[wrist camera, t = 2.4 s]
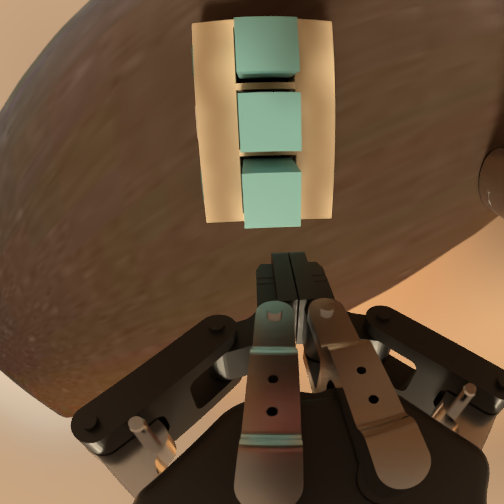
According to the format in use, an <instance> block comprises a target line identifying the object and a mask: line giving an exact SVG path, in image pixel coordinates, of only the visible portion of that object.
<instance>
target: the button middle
mask: <svg viewBox="0 0 504 504" xmlns="http://www.w3.org/2000/svg"><path fill="white" fill-rule="evenodd" d="M237 94H238V113H239V132H240V151H241V153H243V152H269V151H302V136H301V92H253V93H237Z"/></svg>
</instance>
